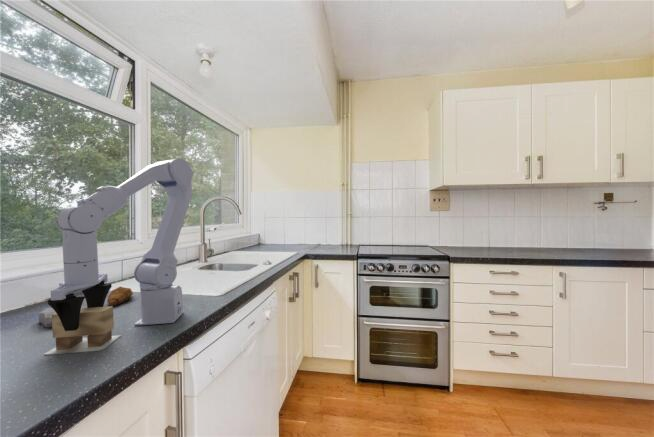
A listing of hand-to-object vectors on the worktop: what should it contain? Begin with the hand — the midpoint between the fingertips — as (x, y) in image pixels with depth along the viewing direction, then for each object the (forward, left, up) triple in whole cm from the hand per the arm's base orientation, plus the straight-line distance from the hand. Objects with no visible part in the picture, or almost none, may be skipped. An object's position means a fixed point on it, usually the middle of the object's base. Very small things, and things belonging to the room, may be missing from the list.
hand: (84, 322), depth 63 cm
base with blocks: (0, 0, -5) cm, 5 cm away
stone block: (+15, -18, -5) cm, 24 cm away
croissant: (+10, -33, -5) cm, 35 cm away
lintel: (0, 0, -2) cm, 2 cm away
